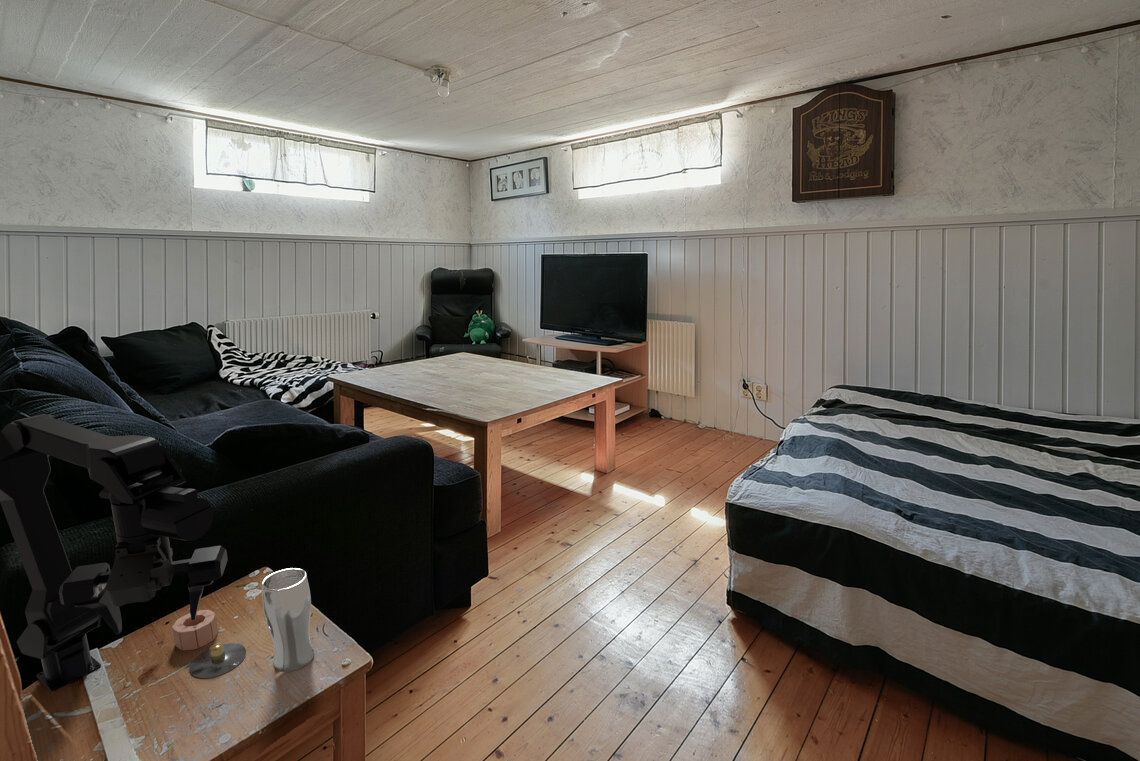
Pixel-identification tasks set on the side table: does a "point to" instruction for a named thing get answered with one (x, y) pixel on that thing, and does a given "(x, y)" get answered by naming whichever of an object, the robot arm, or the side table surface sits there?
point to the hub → (217, 660)
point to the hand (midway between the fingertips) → (157, 625)
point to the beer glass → (288, 617)
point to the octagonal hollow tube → (195, 630)
